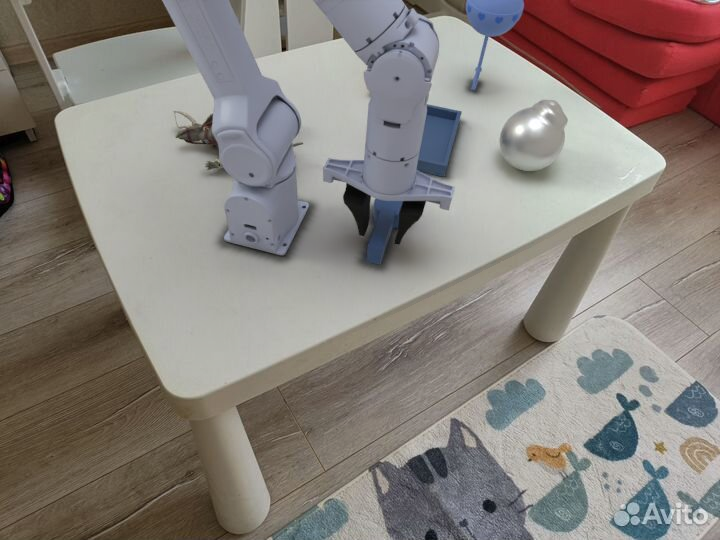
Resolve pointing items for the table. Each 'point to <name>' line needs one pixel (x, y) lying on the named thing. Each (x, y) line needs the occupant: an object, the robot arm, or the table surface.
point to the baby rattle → (492, 21)
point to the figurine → (202, 136)
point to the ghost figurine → (534, 136)
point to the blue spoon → (382, 228)
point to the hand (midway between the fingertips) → (381, 234)
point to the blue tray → (437, 139)
